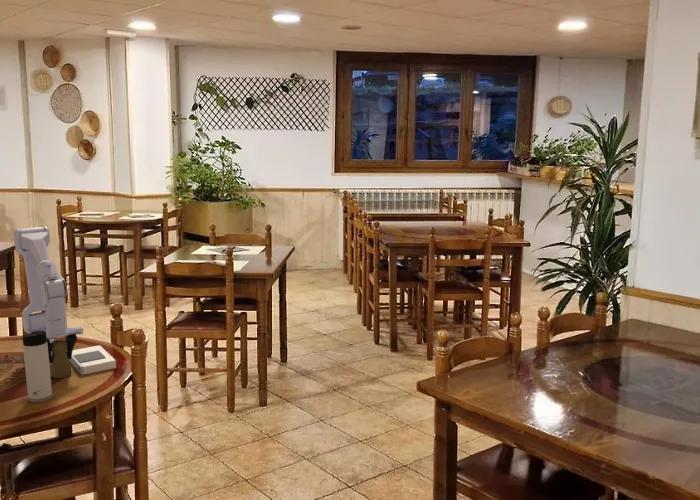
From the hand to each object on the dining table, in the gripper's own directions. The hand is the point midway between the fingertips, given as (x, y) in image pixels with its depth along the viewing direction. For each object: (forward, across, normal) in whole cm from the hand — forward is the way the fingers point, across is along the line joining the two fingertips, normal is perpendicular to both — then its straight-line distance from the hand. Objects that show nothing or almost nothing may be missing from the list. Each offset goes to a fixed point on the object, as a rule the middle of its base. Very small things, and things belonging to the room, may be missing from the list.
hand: (60, 360), depth 213 cm
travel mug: (+5, -9, -15) cm, 18 cm away
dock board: (+5, +11, +6) cm, 13 cm away
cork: (+5, 0, 0) cm, 5 cm away
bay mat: (+3, +10, +5) cm, 11 cm away
